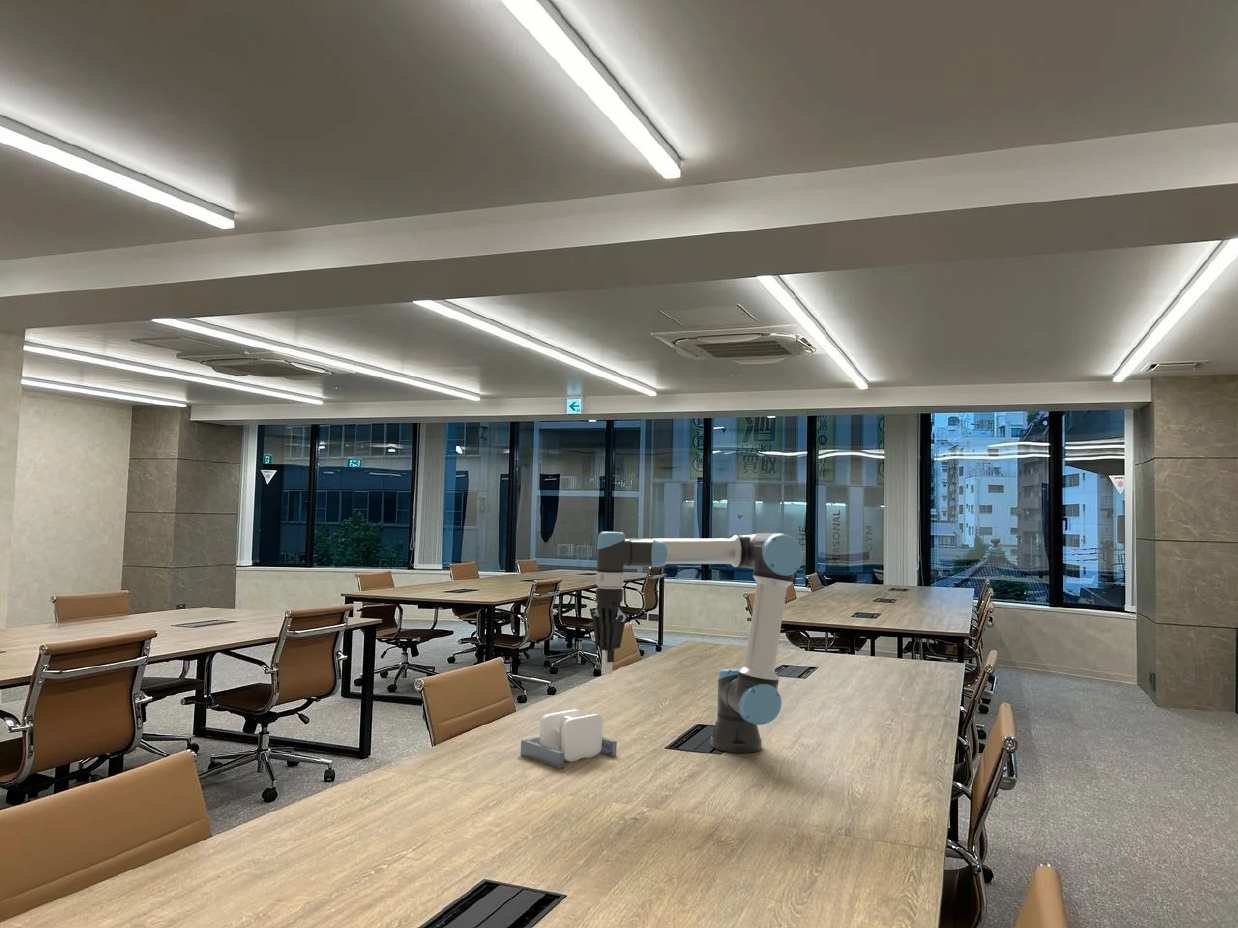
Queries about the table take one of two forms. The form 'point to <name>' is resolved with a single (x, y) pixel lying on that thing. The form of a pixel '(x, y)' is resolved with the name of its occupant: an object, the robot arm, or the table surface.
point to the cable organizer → (572, 733)
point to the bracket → (555, 757)
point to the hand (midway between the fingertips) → (606, 673)
